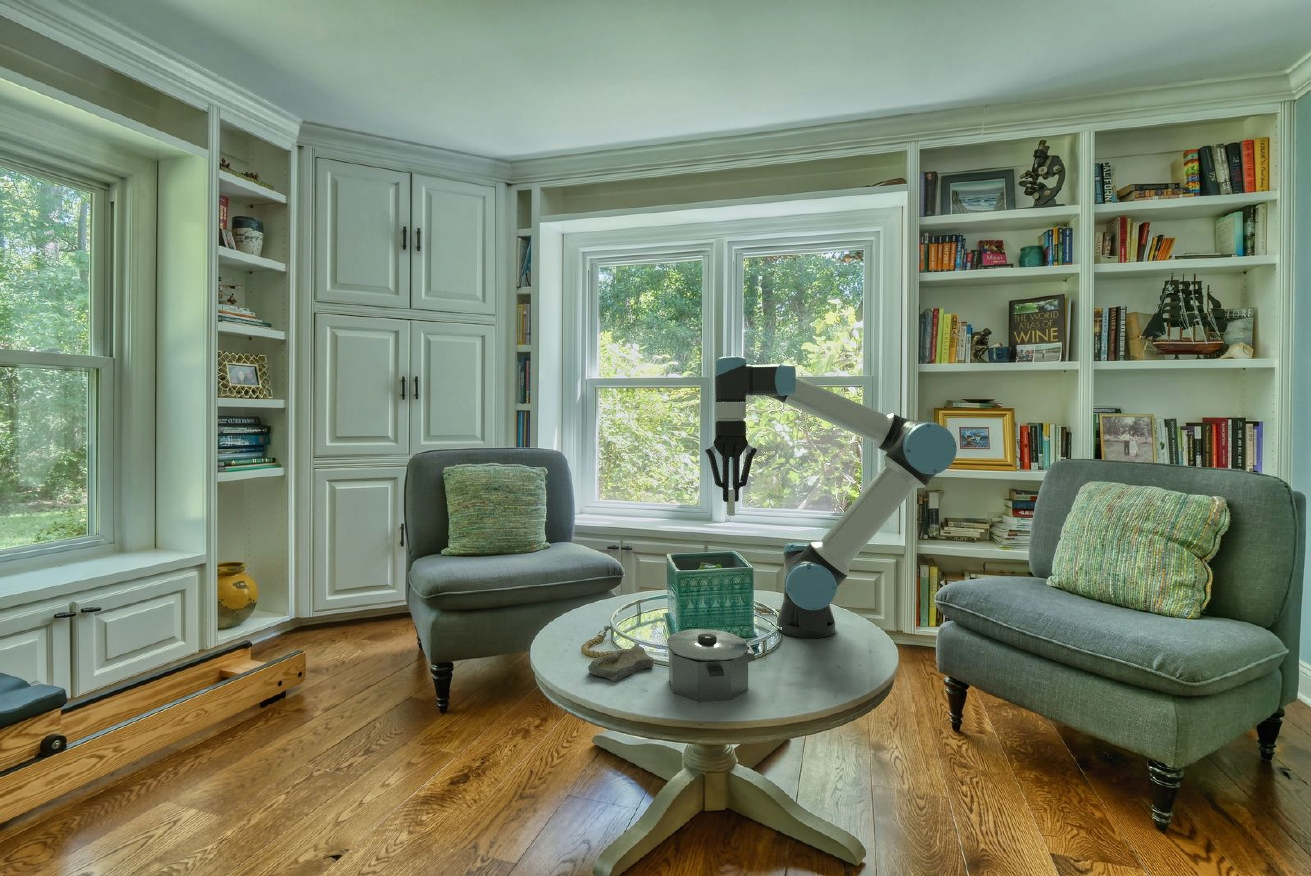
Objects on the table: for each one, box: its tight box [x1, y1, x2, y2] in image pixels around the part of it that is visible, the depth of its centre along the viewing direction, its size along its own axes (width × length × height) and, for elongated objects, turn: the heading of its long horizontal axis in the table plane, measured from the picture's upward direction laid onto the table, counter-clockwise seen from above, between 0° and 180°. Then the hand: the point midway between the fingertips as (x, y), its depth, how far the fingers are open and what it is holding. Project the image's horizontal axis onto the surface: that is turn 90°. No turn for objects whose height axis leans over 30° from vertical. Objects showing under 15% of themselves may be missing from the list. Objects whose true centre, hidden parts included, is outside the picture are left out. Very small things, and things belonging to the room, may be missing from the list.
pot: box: [668, 644, 756, 702], centre depth 145 cm, size 18×21×8 cm
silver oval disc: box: [666, 628, 749, 661], centre depth 144 cm, size 17×17×2 cm
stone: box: [588, 644, 655, 682], centre depth 153 cm, size 15×10×4 cm, turn 132°
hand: (730, 514), depth 168 cm, fingers closed
